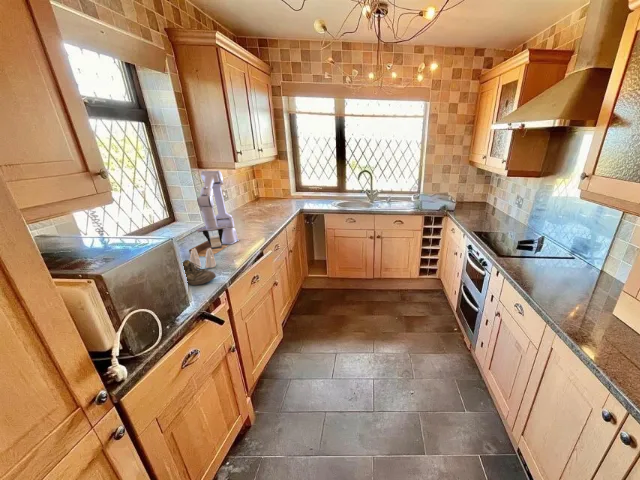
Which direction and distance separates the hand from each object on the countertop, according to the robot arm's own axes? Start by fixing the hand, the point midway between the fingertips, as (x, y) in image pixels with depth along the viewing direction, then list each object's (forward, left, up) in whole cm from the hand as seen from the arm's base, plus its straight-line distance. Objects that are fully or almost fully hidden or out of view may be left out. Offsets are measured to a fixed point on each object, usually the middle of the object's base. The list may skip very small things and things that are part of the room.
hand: (216, 243), depth 170 cm
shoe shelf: (-10, -11, -8) cm, 17 cm away
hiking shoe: (+34, +7, -8) cm, 36 cm away
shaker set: (+18, +2, -8) cm, 20 cm away
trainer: (0, 0, -1) cm, 1 cm away
